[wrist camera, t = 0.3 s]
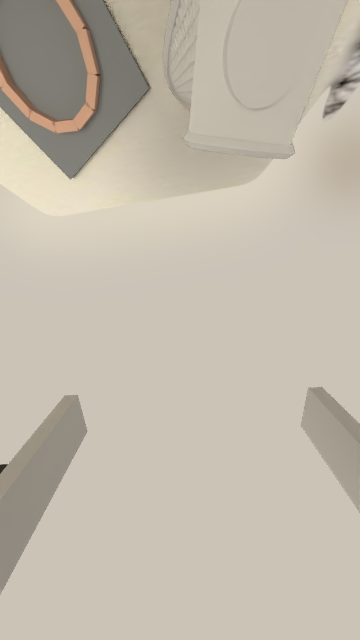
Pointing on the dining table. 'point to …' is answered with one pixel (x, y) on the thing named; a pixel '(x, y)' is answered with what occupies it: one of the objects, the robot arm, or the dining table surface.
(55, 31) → the dock
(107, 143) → the dining table surface
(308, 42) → the skyscraper
